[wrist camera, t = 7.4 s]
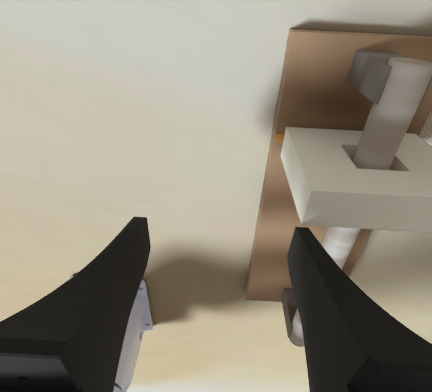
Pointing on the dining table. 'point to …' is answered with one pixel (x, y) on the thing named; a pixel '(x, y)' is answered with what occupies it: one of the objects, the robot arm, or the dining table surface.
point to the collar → (357, 182)
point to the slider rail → (339, 120)
